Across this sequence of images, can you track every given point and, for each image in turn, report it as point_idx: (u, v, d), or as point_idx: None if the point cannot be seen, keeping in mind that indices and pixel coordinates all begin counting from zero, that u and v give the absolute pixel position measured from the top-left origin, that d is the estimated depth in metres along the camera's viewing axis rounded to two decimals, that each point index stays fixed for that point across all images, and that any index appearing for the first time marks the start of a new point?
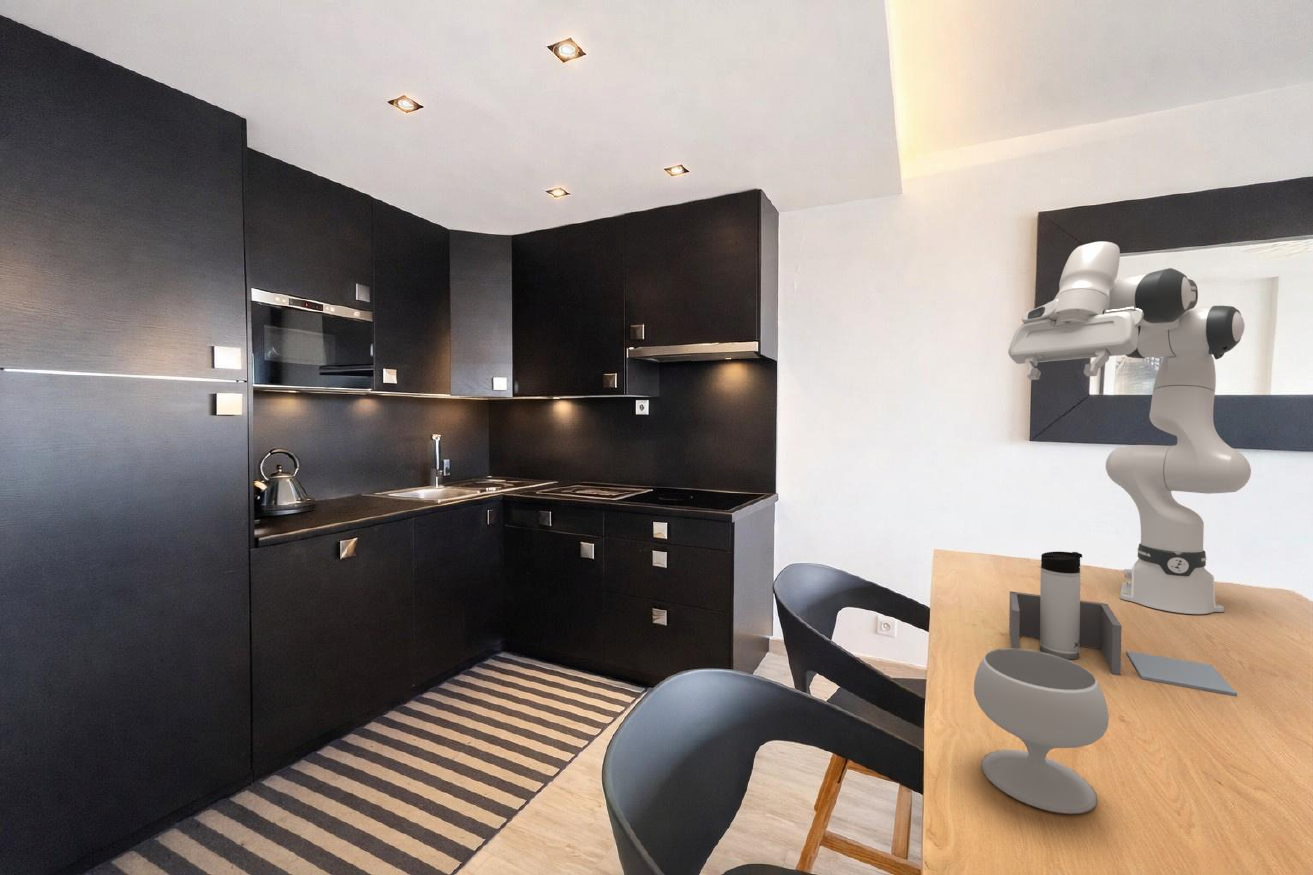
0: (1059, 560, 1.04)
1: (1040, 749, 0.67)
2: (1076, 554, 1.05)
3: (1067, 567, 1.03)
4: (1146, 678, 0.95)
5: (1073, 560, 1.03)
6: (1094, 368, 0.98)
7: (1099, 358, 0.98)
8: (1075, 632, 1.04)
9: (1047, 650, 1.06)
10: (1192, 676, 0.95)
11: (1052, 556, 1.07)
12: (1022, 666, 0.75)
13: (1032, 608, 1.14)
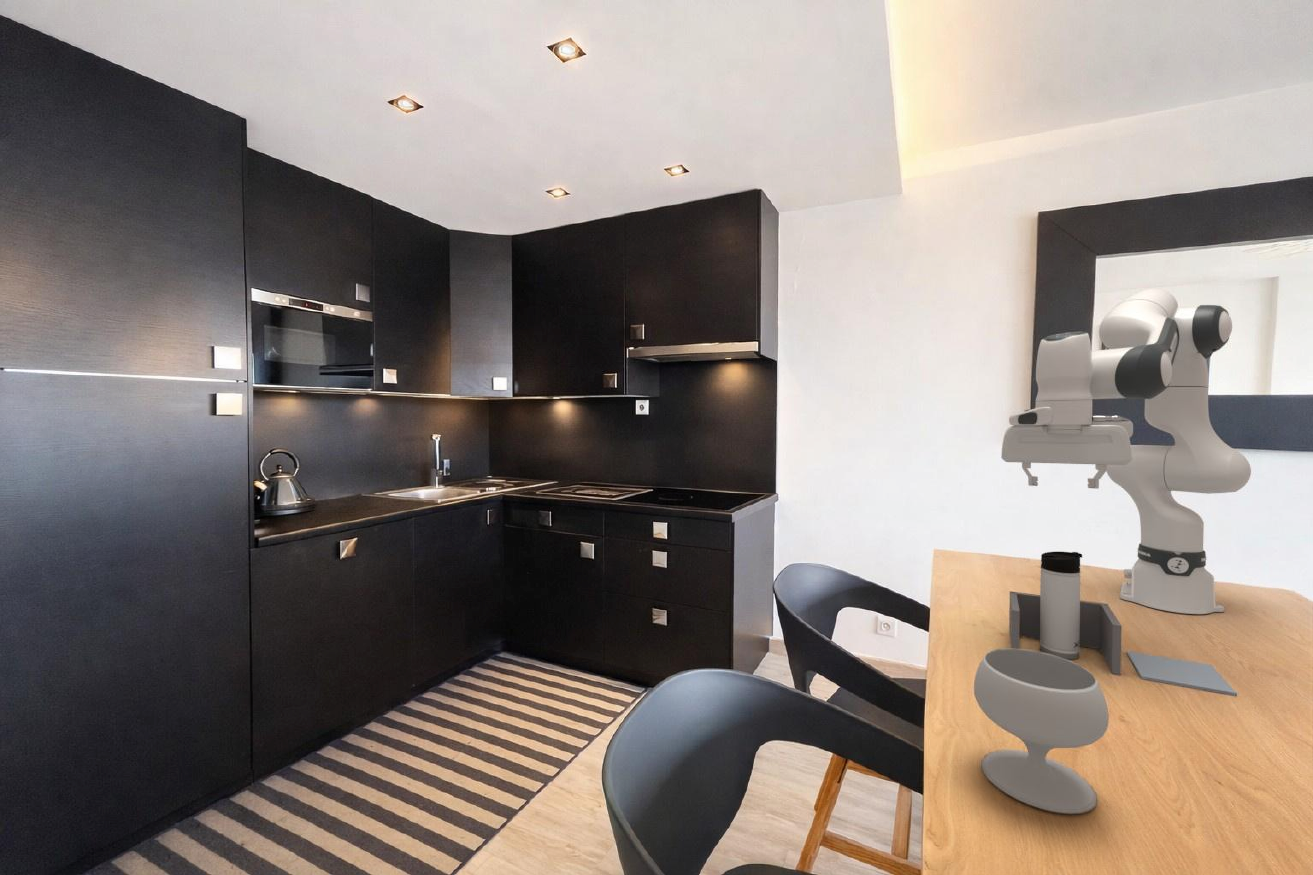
0: (1059, 560, 1.04)
1: (1040, 748, 0.67)
2: (1076, 554, 1.05)
3: (1067, 567, 1.03)
4: (1146, 678, 0.95)
5: (1073, 560, 1.03)
6: (1098, 483, 1.02)
7: (1102, 474, 1.02)
8: (1075, 632, 1.04)
9: (1047, 650, 1.06)
10: (1192, 676, 0.95)
11: (1052, 556, 1.07)
12: (1021, 666, 0.75)
13: (1032, 608, 1.14)
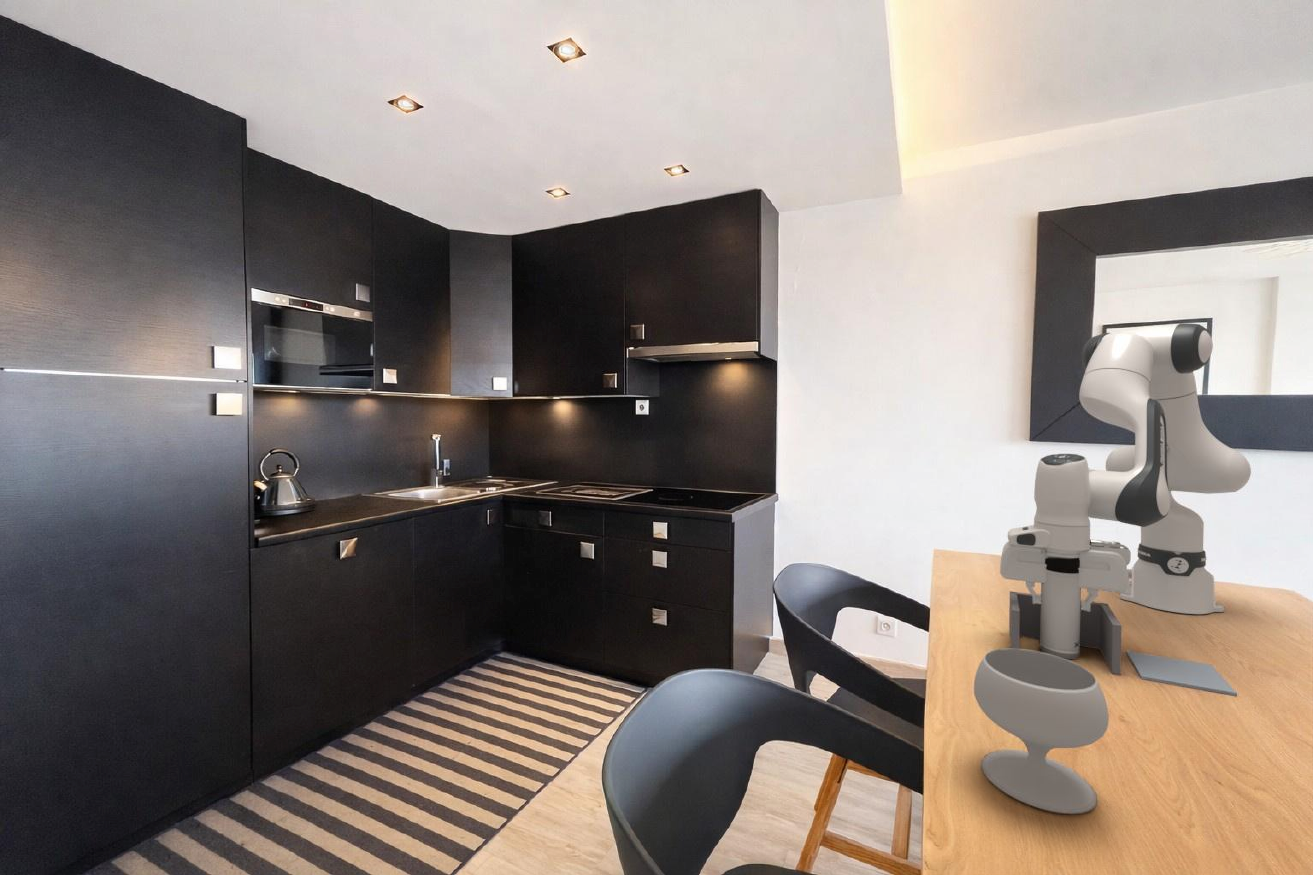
0: (1060, 560, 1.04)
1: (1040, 749, 0.67)
2: None
3: (1068, 567, 1.03)
4: (1146, 678, 0.95)
5: (1074, 560, 1.03)
6: None
7: (1094, 598, 1.03)
8: (1076, 632, 1.03)
9: (1047, 650, 1.06)
10: (1192, 676, 0.95)
11: None
12: (1022, 666, 0.75)
13: (1032, 608, 1.14)
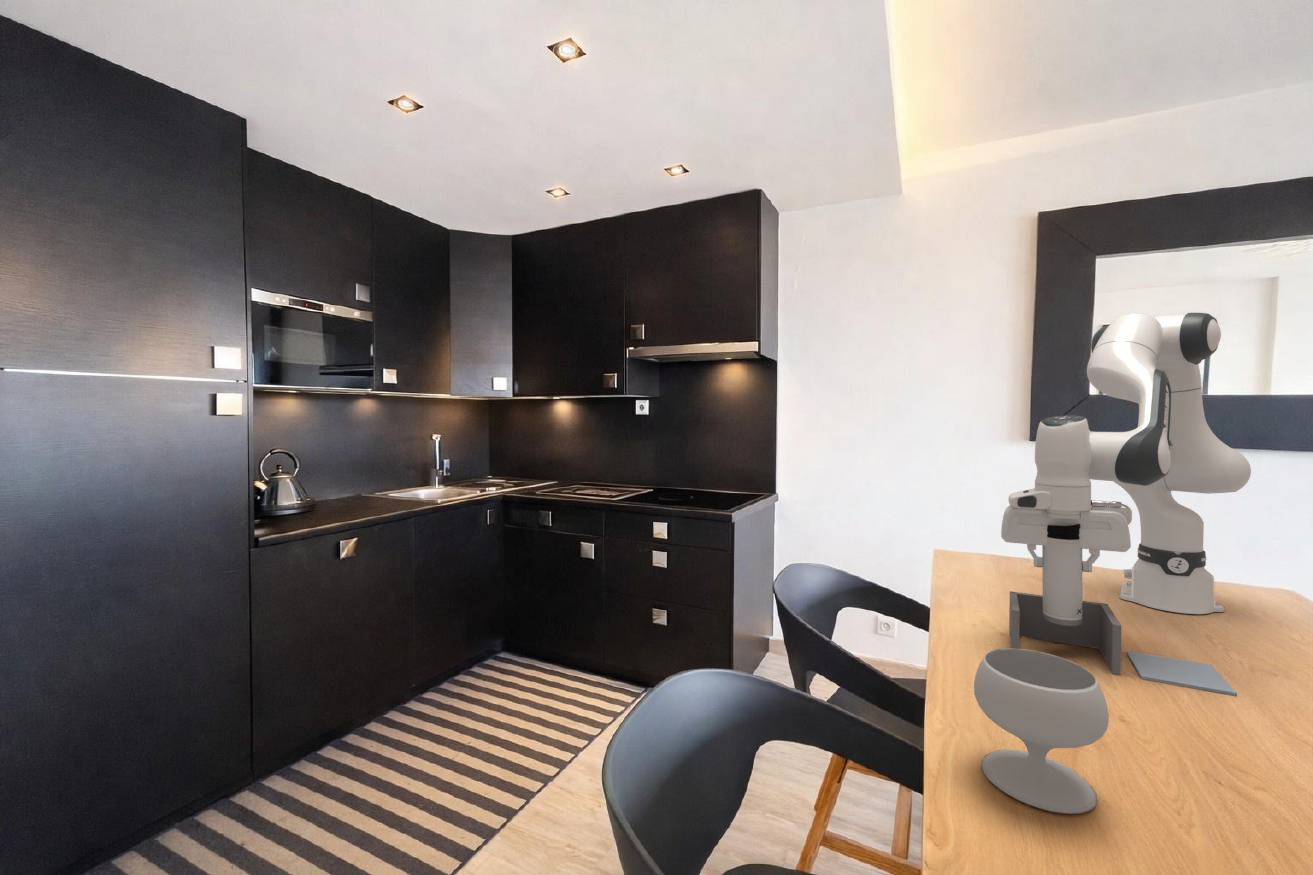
0: (1060, 527, 1.04)
1: (1040, 748, 0.67)
2: None
3: (1069, 534, 1.03)
4: (1146, 678, 0.95)
5: (1074, 526, 1.03)
6: (1091, 567, 1.03)
7: (1095, 559, 1.03)
8: (1078, 599, 1.03)
9: (1050, 617, 1.06)
10: (1192, 676, 0.95)
11: None
12: (1022, 666, 0.75)
13: (1032, 608, 1.14)
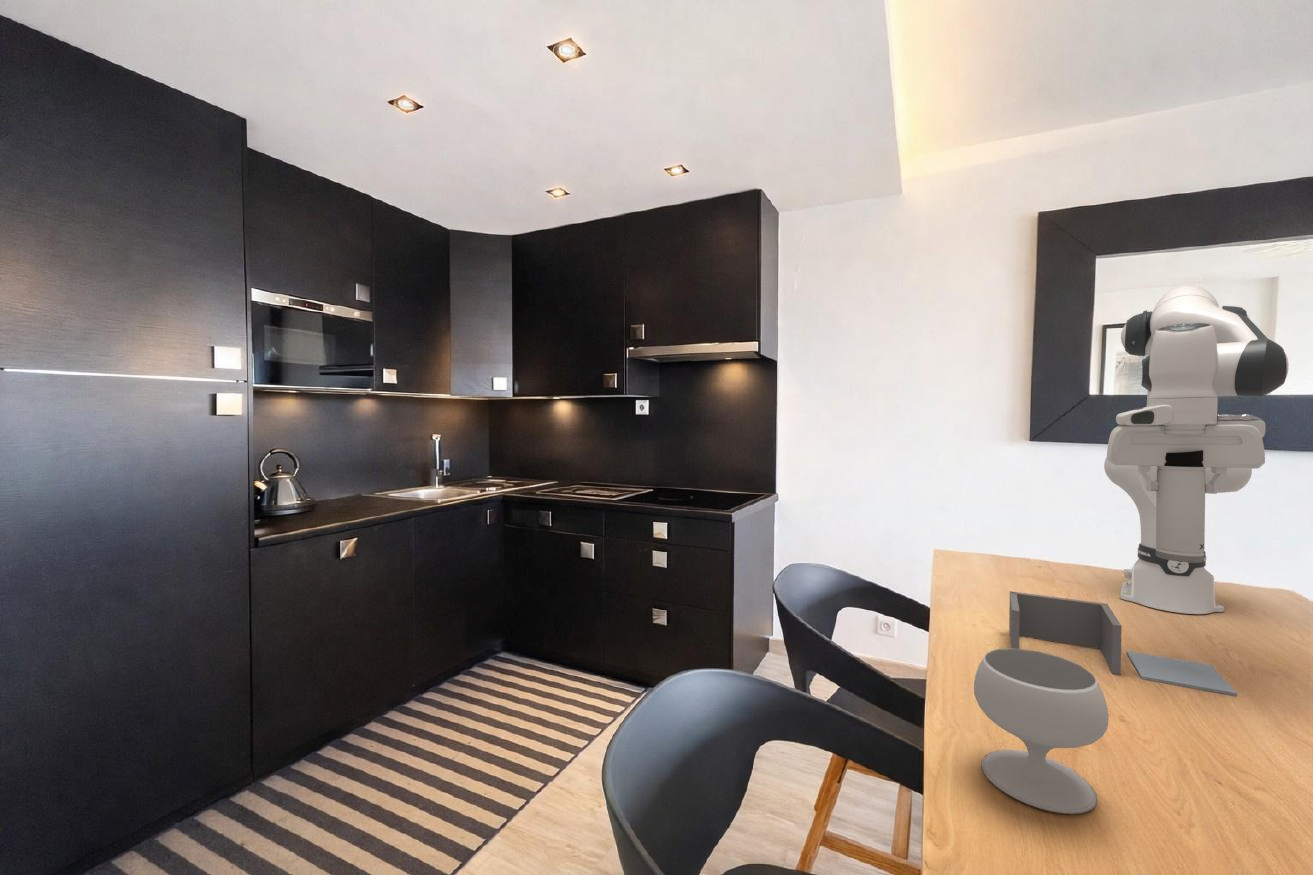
0: (1182, 453, 0.94)
1: (1040, 749, 0.67)
2: None
3: (1192, 460, 0.94)
4: (1146, 678, 0.95)
5: (1198, 452, 0.94)
6: (1216, 488, 0.94)
7: (1221, 478, 0.93)
8: (1201, 532, 0.94)
9: (1167, 554, 0.96)
10: (1192, 676, 0.95)
11: None
12: (1021, 666, 0.75)
13: (1032, 608, 1.14)
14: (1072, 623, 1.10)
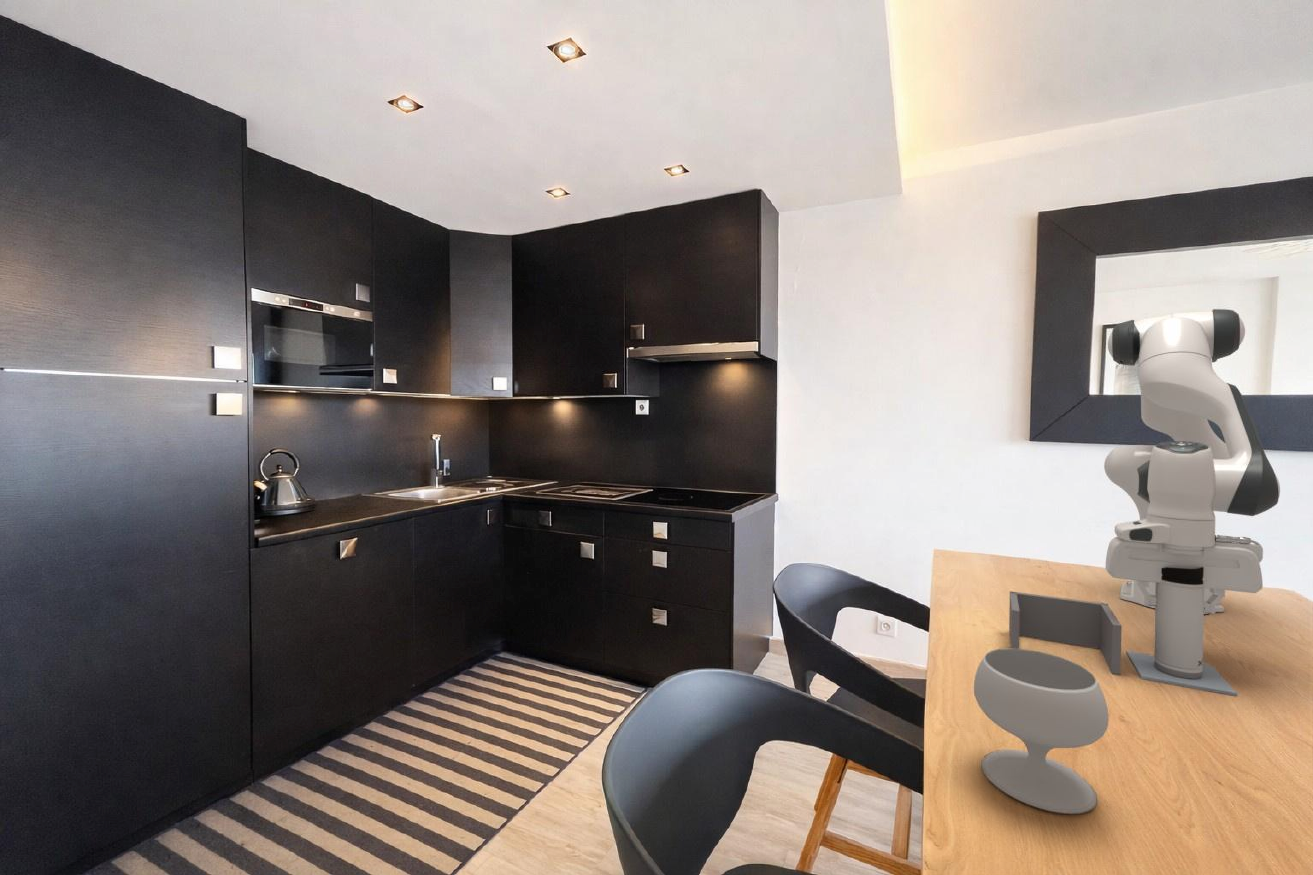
0: (1181, 570, 0.94)
1: (1040, 749, 0.67)
2: None
3: (1191, 578, 0.94)
4: (1146, 678, 0.95)
5: (1197, 570, 0.94)
6: (1214, 609, 0.94)
7: (1219, 599, 0.94)
8: (1199, 649, 0.94)
9: (1165, 668, 0.96)
10: None
11: None
12: (1021, 666, 0.75)
13: (1032, 608, 1.14)
14: (1072, 623, 1.10)
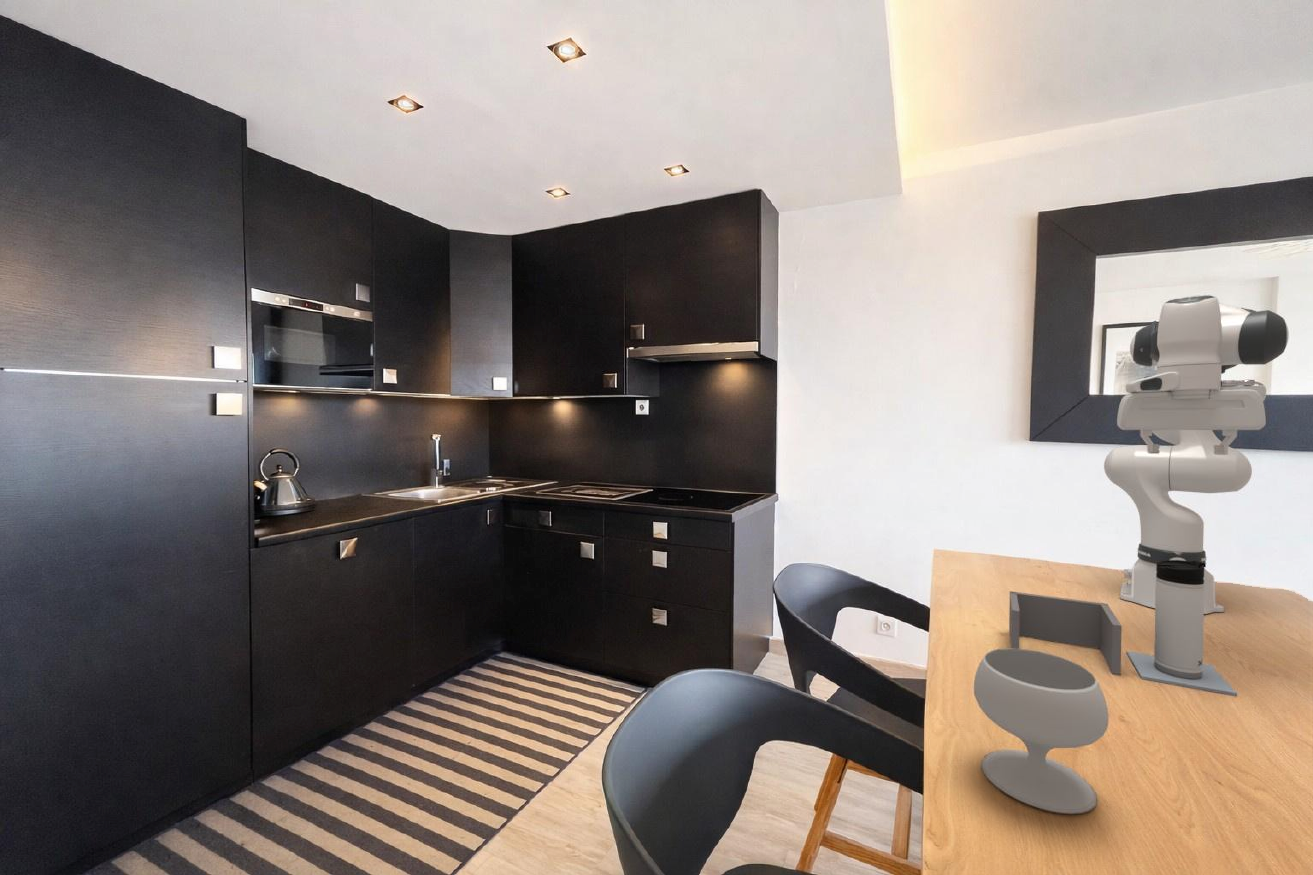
0: (1181, 570, 0.94)
1: (1040, 748, 0.67)
2: (1198, 563, 0.96)
3: (1191, 578, 0.94)
4: (1146, 678, 0.95)
5: (1197, 570, 0.94)
6: None
7: (1232, 440, 0.99)
8: (1199, 649, 0.94)
9: (1165, 668, 0.96)
10: None
11: (1169, 565, 0.98)
12: (1021, 666, 0.75)
13: (1032, 608, 1.14)
14: (1072, 623, 1.10)
